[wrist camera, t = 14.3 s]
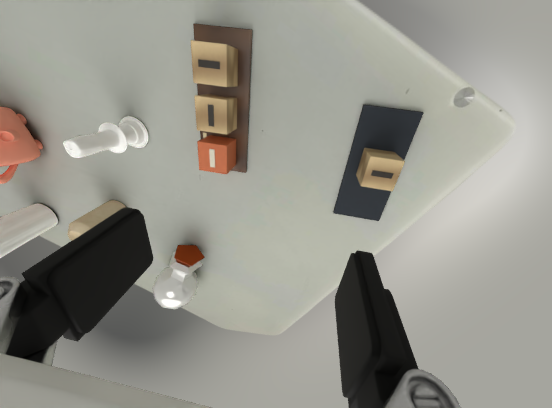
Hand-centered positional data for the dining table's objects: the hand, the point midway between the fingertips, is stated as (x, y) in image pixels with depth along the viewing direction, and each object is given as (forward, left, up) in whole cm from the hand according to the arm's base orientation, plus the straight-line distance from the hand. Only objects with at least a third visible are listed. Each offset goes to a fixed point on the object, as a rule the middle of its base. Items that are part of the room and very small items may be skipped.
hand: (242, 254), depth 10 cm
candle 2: (+22, -36, -28) cm, 51 cm away
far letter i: (-1, -12, -28) cm, 30 cm away
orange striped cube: (+5, -12, -28) cm, 30 cm away
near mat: (+4, +13, -28) cm, 31 cm away
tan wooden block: (-7, -12, -28) cm, 31 cm away
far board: (-2, -12, -28) cm, 31 cm away
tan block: (+3, +13, -28) cm, 31 cm away
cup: (+27, -56, -28) cm, 68 cm away
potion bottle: (+34, -21, -28) cm, 49 cm away
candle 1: (+4, -28, -28) cm, 40 cm away
